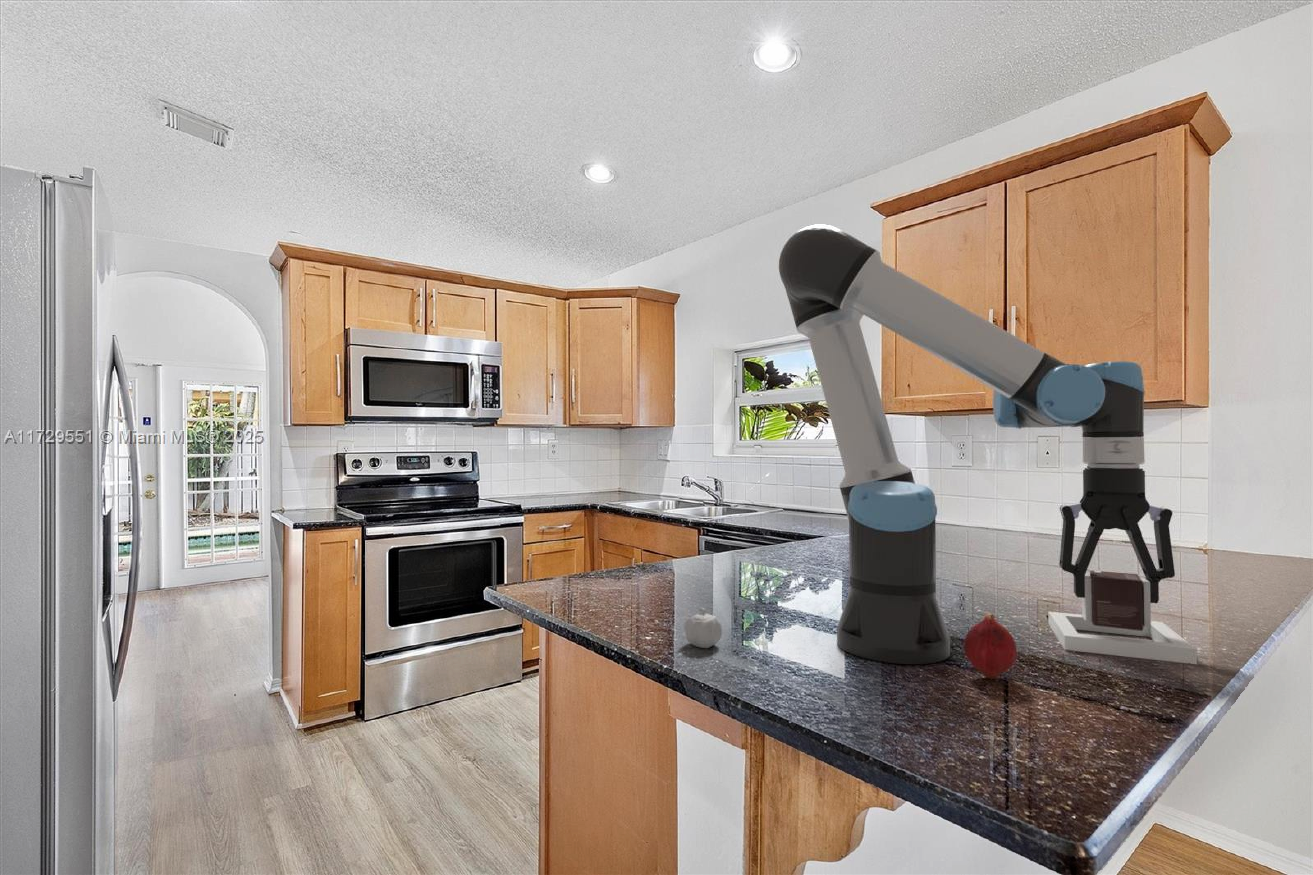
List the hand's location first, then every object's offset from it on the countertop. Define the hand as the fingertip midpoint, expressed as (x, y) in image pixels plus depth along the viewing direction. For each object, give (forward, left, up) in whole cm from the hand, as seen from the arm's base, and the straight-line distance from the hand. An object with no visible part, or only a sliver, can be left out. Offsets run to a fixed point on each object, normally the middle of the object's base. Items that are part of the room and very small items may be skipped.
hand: (1115, 621), depth 95 cm
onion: (-18, -25, -3) cm, 31 cm away
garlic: (-55, -27, -3) cm, 61 cm away
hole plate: (0, 0, -3) cm, 3 cm away
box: (0, 0, -1) cm, 1 cm away
